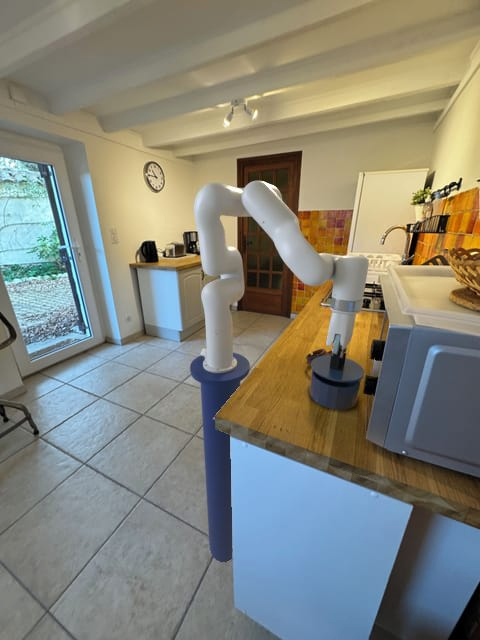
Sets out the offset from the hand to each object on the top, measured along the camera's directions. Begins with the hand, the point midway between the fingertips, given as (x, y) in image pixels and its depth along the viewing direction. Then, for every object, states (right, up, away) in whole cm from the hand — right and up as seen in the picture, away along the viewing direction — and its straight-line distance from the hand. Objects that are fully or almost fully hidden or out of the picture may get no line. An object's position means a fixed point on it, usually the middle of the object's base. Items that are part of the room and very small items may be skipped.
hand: (337, 366), depth 72 cm
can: (+17, -8, +7) cm, 20 cm away
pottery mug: (+2, -4, +18) cm, 19 cm away
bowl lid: (0, -1, 0) cm, 1 cm away
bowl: (0, -9, +3) cm, 10 cm away
